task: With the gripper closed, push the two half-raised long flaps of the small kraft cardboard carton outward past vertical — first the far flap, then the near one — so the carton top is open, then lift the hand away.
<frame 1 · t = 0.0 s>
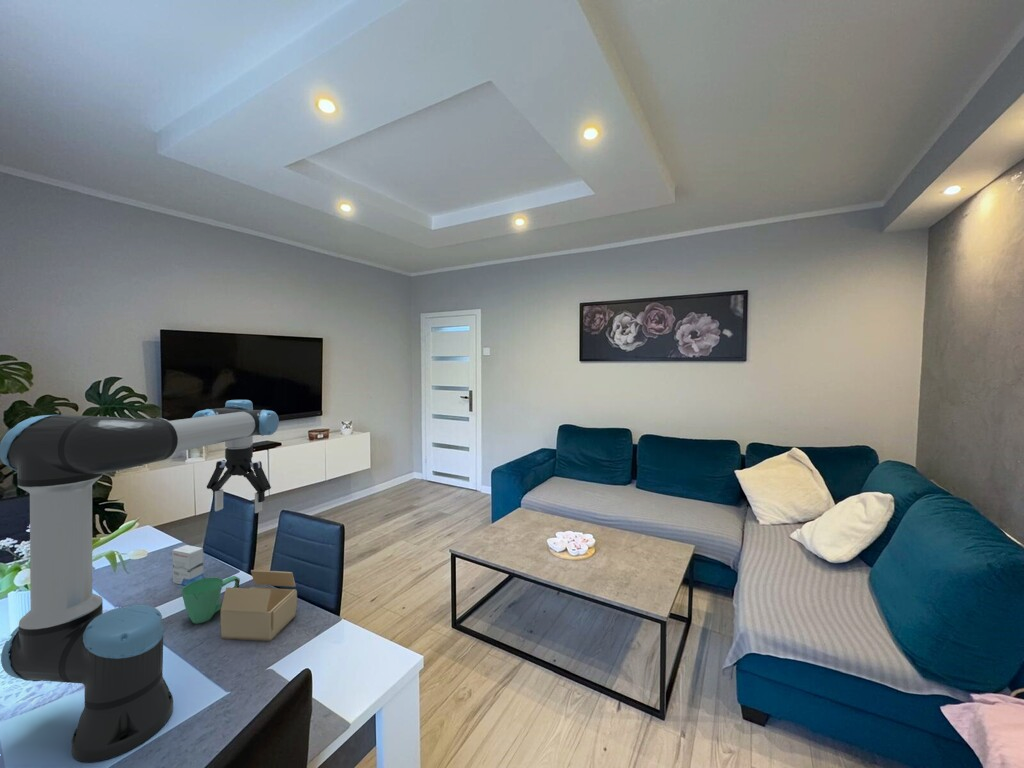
hand: (238, 510, 132), 28 cm above the table, fingers open, 13 cm apart
flap near: (246, 599, 111), point 11 cm above the table, hinge at -20.0°
carton: (260, 626, 117), on the table
mug: (212, 615, 122), on the table
ink box: (188, 582, 140), on the table
flap far: (273, 578, 122), point 11 cm above the table, hinge at -20.0°
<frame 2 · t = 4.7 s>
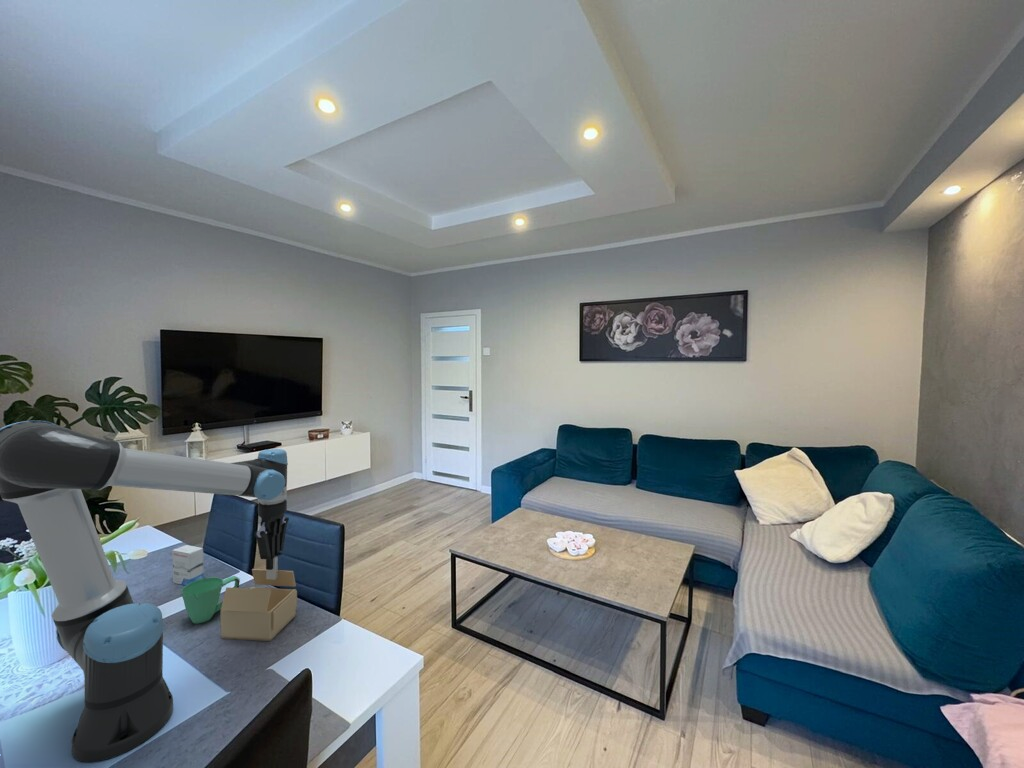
hand: (271, 578, 121), 12 cm above the table, fingers closed
flap far: (273, 577, 123), point 11 cm above the table, hinge at -14.8°, touching gripper
everything else where it was.
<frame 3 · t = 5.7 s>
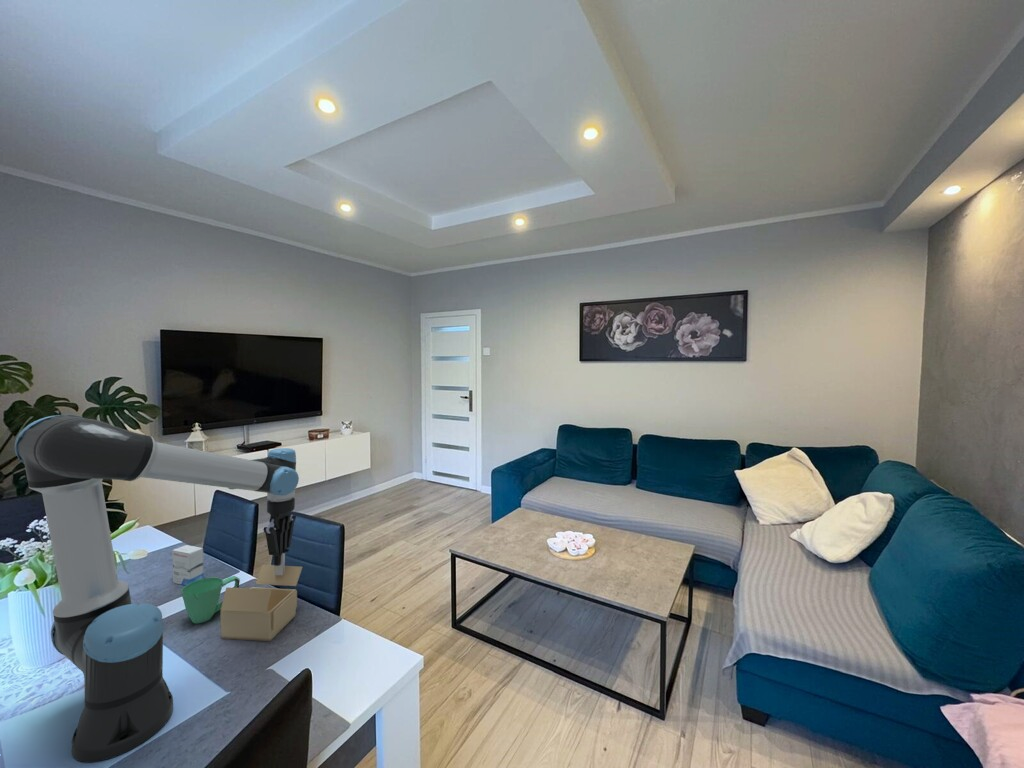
hand: (279, 574, 125), 11 cm above the table, fingers closed
flap far: (279, 575, 125), point 11 cm above the table, hinge at 38.4°, touching gripper
everything else where it was.
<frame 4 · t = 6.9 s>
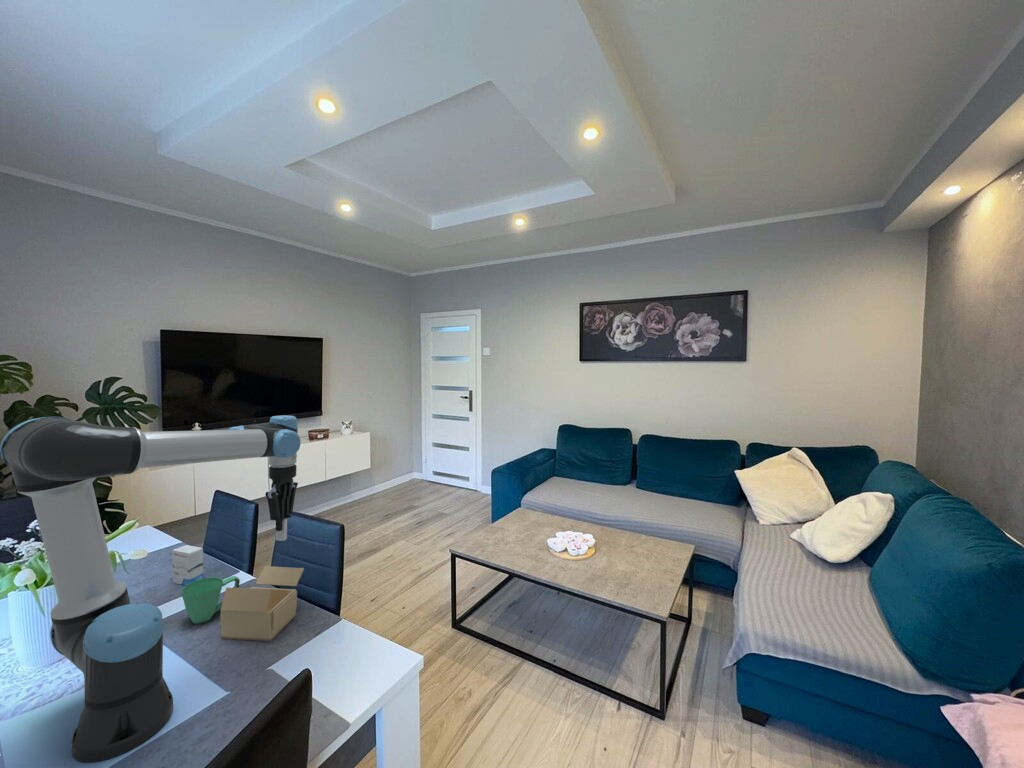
hand: (281, 539, 126), 22 cm above the table, fingers closed
flap far: (280, 576, 126), point 10 cm above the table, hinge at 52.5°
everything else where it was.
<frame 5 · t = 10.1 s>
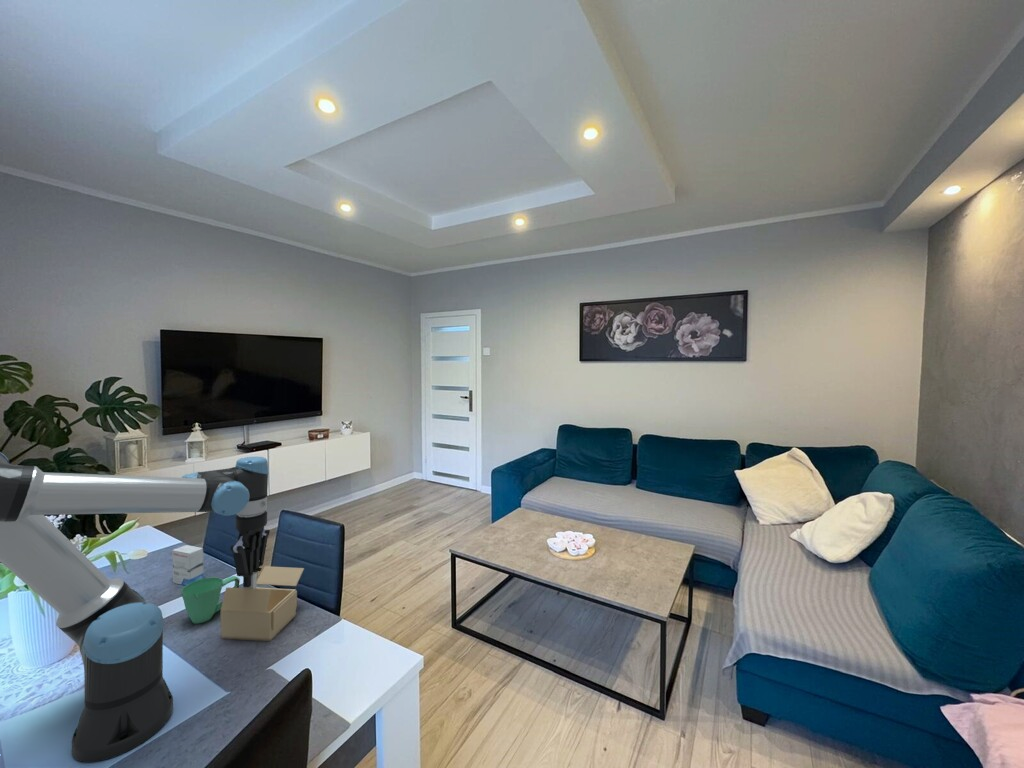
hand: (250, 596, 113), 11 cm above the table, fingers closed
flap near: (246, 599, 111), point 11 cm above the table, hinge at -20.0°, touching gripper
flap far: (280, 576, 126), point 10 cm above the table, hinge at 52.8°
everything else where it was.
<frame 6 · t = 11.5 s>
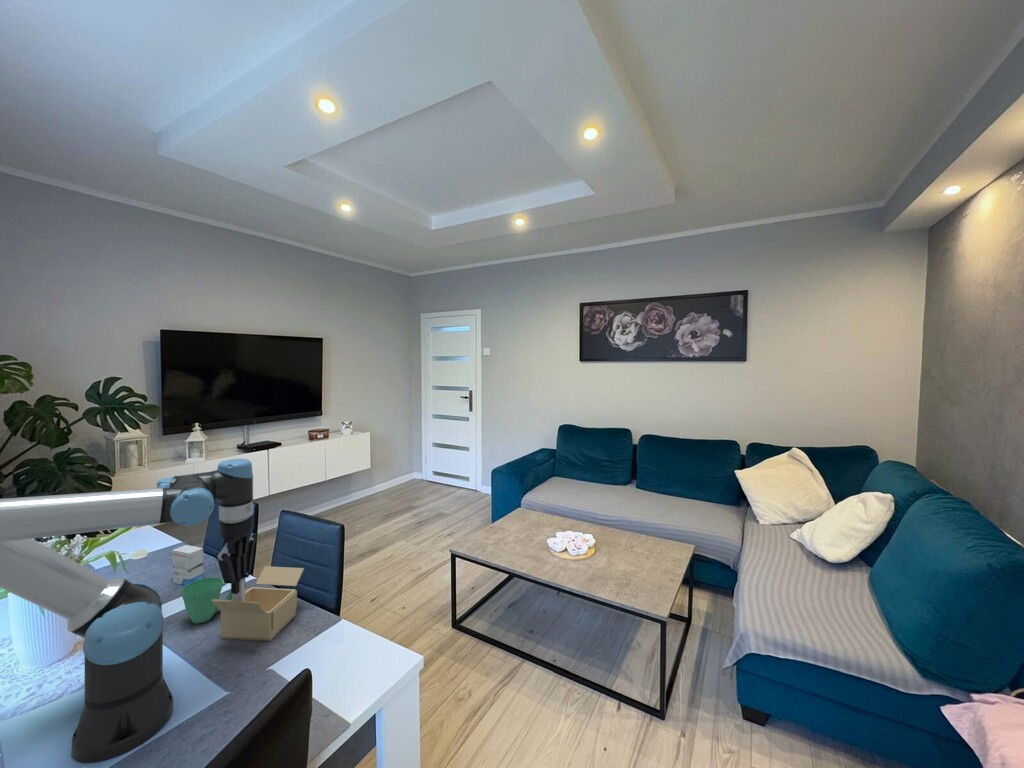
hand: (238, 602, 108), 12 cm above the table, fingers closed
flap near: (239, 606, 108), point 11 cm above the table, hinge at 34.0°, touching gripper
everything else where it was.
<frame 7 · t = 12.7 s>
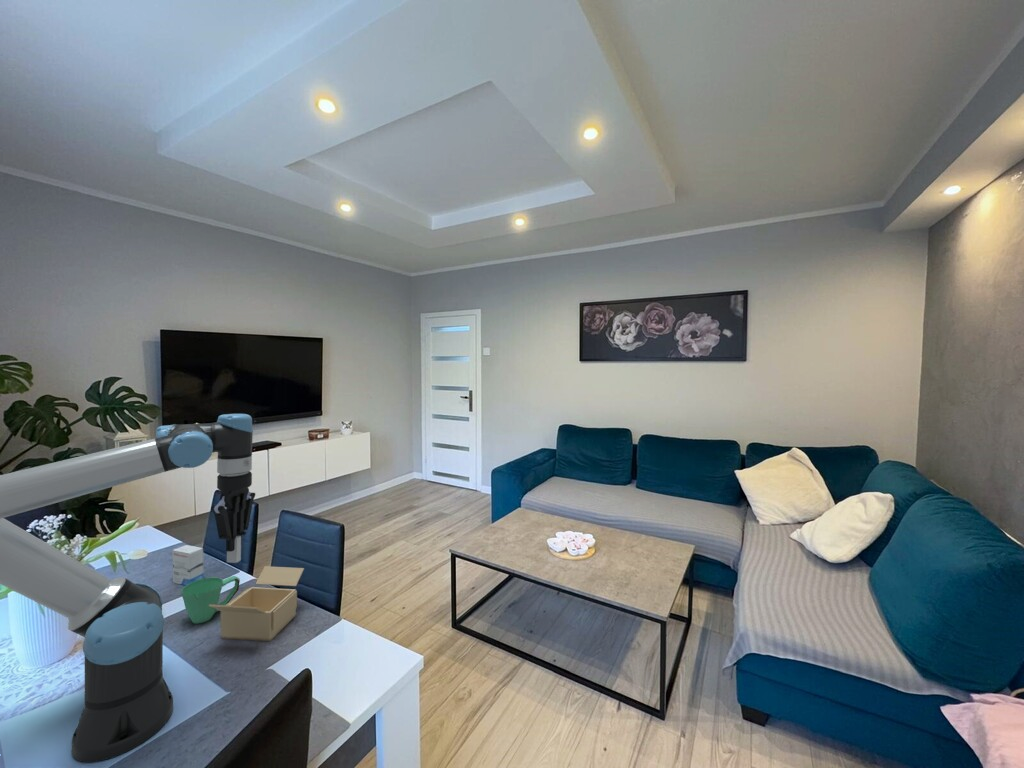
hand: (233, 561, 106), 24 cm above the table, fingers closed
flap near: (237, 609, 108), point 10 cm above the table, hinge at 46.9°
everything else where it was.
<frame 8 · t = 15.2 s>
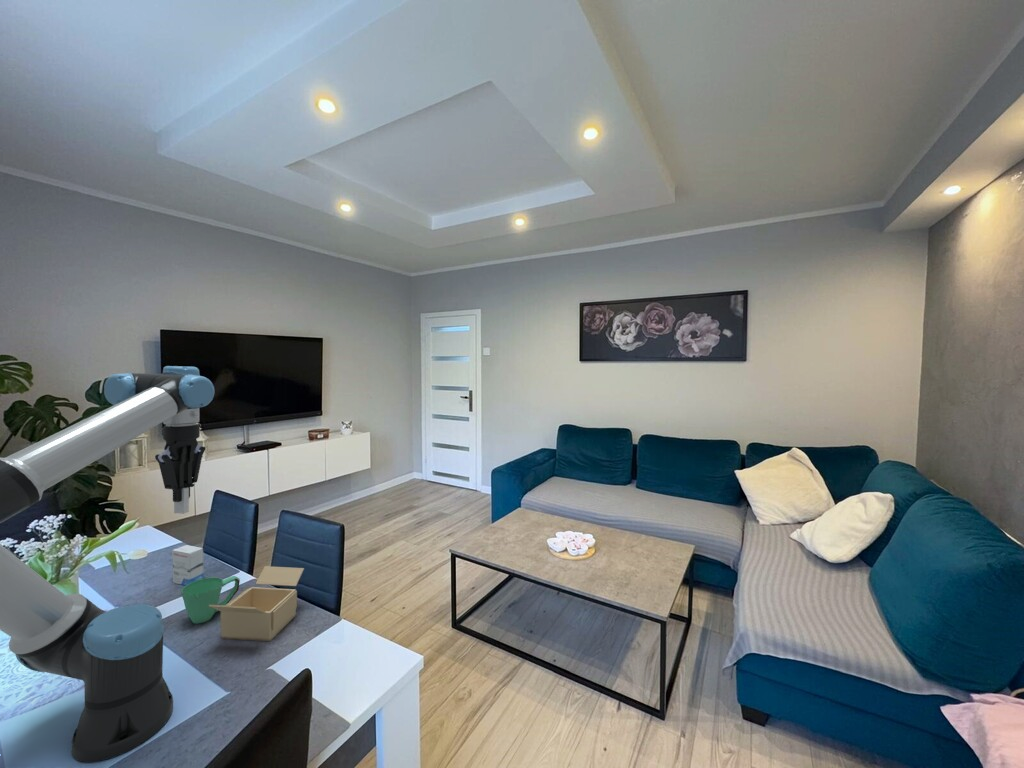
hand: (181, 512, 107), 36 cm above the table, fingers closed
nothing on the table moved.
at the end: flap far at +53° (first picture: -20°); flap near at +47° (first picture: -20°) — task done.
